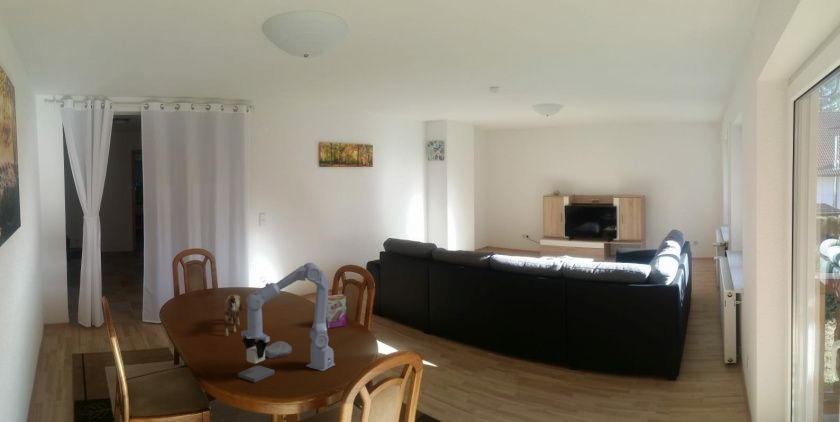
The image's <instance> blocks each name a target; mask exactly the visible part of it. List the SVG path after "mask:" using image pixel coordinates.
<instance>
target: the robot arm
mask: <svg viewBox="0 0 840 422" xmlns="http://www.w3.org/2000/svg"><path fill="white" fill-rule="evenodd" d="M306 279H307V280H306ZM297 281H301V282H302V281H303V282H305V281H310V282H311V283H313V284H314V285H315V286H316V291H315V292H316V293H315V303H314V304H315V306H314V317H313V318H314V319H313V323H312V327H311V330H310V332H309V337H310V339H311V343H310V363H308V364H306V367H308V368H310V369H315V370H317V371H321V372H324V371H326V370H328V369H330V368H331V367H334V366H336V363H335V359H334V358H335V353H334V349H333V348H331V346H329V345H328V343H329V338H330V337H329V336H328V329H327V327H326V317H327V304H328V296H329V288H330V282H329V279H327V276H326V274H325V273H324V271H323V270H322V269H321V268H319V267H318V266H317V265H316V264H315V263H313V262H306V263H304V265H300V266H299V267H297V268H296V269H295V270H293V271H292V272H290V273H288V274H287V275H286V276H284V277H283V278H282V279H280V280H279V281H277V282H270V283H268V282H267V283H266V284H264V285H265V286H264V287H262V288H260V289H259V290H257V289H256V290H255V291H254V292H253V293H250V294H248V296H247V297H246V300H245V303H246V305H247V309H246V310H247V315H246V316H247V317H246V318H247V330H242V331H240V332H241V333H240V334H241V337H244V338H242V339H241V341H242V342H243V344H244V346H245V348H246V350H247V349H248V348H251V347H253V346H256V348H257V355H258V358H262V357H263V355H264V351H265V348H266V347H267V345H268V344H269V342H270V336H269V335H267V334H266V333H264V332H263V329H264V328H263V311H262V307H263V306H264V304H265V303H267V302H269V301H271V300H272V299H274V298H275V297H277V296H279V295H280V291H281V290H283V289H285V288H286V287H288V286H290V285H292V284H293V283H295V282H297ZM256 340H257V341H256Z"/></svg>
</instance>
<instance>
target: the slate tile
mask: <svg viewBox="0 0 840 422" xmlns="http://www.w3.org/2000/svg"><path fill="white" fill-rule="evenodd" d="M274 374H275V369H271V368H268V367H266V366H262V365H259V364H258V365H254V366H252V367H250V368H247V369H245V370H242V371H240V372H238V373H237V377H238V378H241V379H243V380H246V381H249V382H252V383H256V382H259V381H261V380H264V379H266V378H269V377H270V376H272V375H274Z"/></svg>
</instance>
